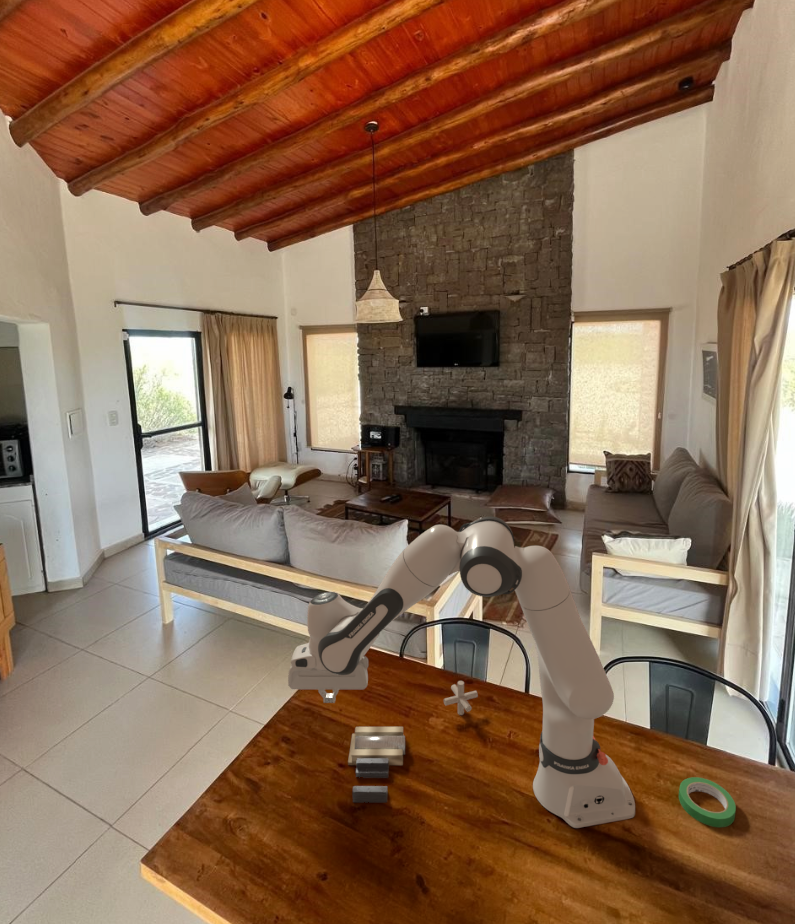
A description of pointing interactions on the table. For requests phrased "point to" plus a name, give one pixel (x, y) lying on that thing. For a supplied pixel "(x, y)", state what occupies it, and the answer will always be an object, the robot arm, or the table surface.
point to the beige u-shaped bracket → (392, 754)
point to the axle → (380, 742)
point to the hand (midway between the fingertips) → (329, 701)
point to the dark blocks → (371, 770)
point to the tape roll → (702, 814)
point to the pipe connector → (461, 698)
